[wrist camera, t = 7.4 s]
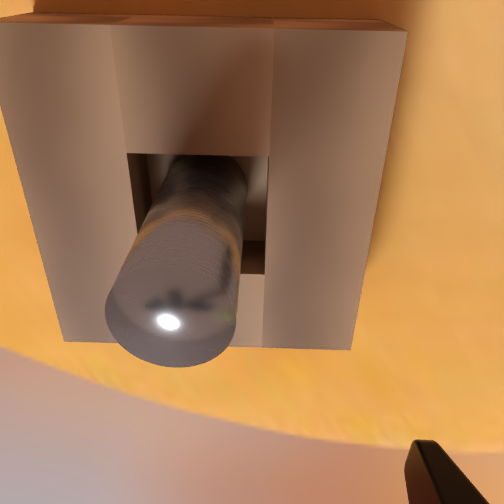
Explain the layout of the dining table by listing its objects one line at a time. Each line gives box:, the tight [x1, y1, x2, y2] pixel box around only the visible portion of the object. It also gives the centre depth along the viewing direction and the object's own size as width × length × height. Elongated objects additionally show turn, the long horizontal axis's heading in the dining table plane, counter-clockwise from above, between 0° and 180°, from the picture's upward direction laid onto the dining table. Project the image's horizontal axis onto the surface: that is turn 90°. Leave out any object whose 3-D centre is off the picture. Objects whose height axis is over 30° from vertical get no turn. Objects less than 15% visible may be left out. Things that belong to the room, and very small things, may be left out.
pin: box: [105, 154, 247, 367], centre depth 14 cm, size 3×3×8 cm
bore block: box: [0, 12, 408, 350], centre depth 17 cm, size 12×12×4 cm
